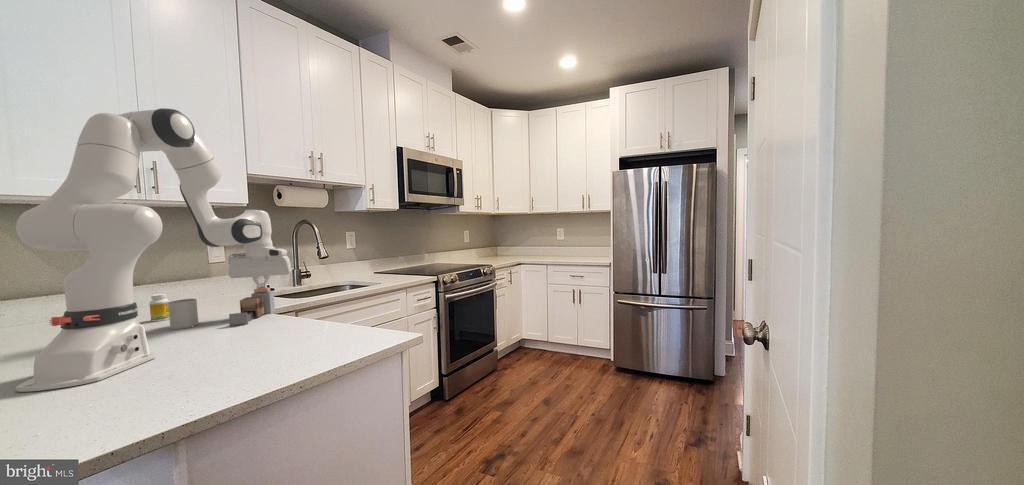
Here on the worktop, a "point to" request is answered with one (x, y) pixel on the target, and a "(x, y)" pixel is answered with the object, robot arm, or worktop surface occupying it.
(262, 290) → the plunger
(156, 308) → the supplement bottle
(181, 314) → the cup
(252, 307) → the carriage
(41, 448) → the worktop surface
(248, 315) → the rail
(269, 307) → the gauge cabinet
